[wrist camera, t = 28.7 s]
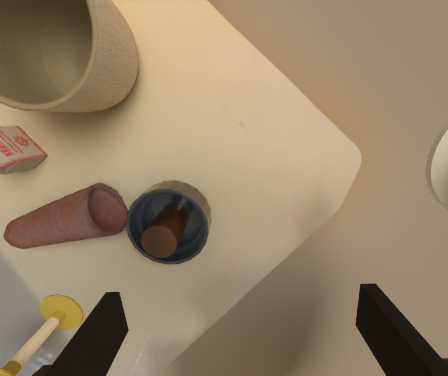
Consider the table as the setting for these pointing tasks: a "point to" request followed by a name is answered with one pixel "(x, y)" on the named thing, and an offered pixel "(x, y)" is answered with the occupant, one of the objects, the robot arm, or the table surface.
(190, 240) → the bowl
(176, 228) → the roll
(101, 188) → the pink vase
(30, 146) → the tea bag
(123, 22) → the planter
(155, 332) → the table surface
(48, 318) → the candle
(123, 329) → the robot arm
